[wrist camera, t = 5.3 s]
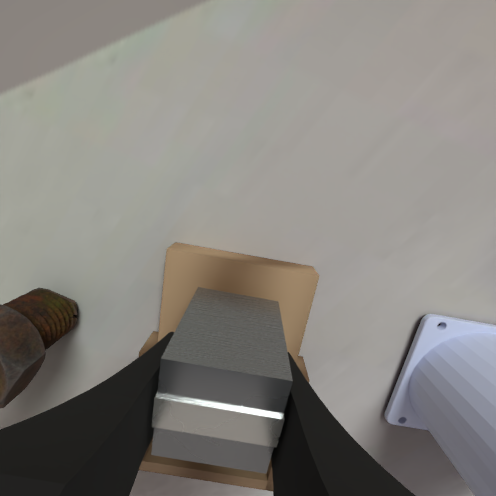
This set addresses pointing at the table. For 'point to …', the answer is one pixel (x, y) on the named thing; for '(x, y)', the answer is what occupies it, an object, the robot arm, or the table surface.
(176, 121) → the table surface
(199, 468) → the open brown wooden box
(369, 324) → the table surface
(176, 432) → the metal block
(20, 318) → the bolt
